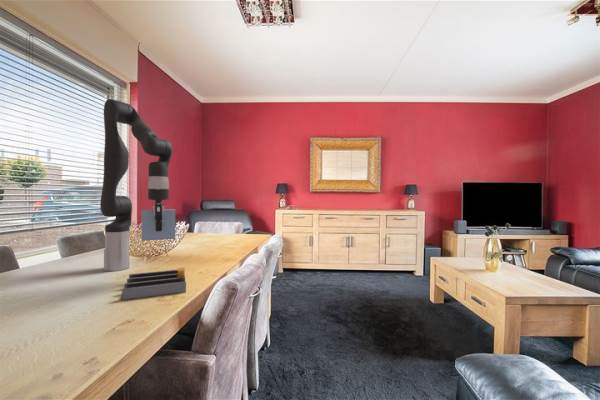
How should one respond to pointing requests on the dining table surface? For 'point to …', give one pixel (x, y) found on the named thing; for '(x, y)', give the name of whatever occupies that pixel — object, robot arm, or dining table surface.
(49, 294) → the dining table surface
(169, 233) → the panel
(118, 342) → the dining table surface
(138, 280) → the rack
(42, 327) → the dining table surface
